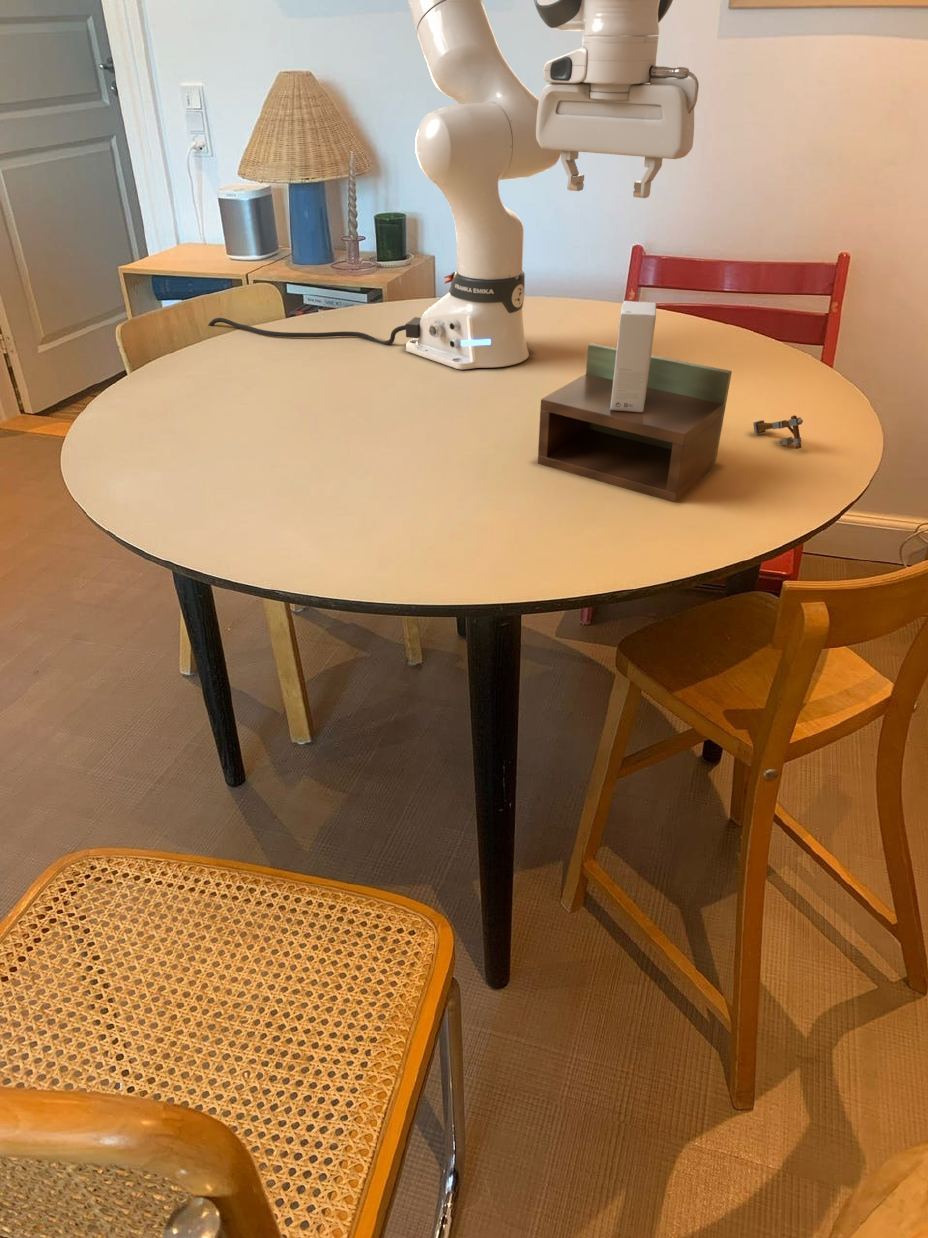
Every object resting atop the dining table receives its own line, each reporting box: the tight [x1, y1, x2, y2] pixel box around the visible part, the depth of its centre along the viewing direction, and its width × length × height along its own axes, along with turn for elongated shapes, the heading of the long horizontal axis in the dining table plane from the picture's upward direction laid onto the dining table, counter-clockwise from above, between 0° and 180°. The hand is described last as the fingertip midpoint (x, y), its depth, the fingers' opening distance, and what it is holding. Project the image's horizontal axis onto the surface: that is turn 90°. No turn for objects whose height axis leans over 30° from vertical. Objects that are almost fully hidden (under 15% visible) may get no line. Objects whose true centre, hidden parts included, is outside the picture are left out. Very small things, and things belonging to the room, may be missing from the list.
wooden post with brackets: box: [752, 415, 804, 450], centre depth 122 cm, size 2×8×4 cm, turn 29°
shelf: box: [537, 342, 733, 503], centre depth 113 cm, size 20×13×13 cm, turn 55°
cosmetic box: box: [610, 300, 657, 412], centre depth 107 cm, size 6×4×12 cm
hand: (607, 193), depth 111 cm, fingers open, 8 cm apart
